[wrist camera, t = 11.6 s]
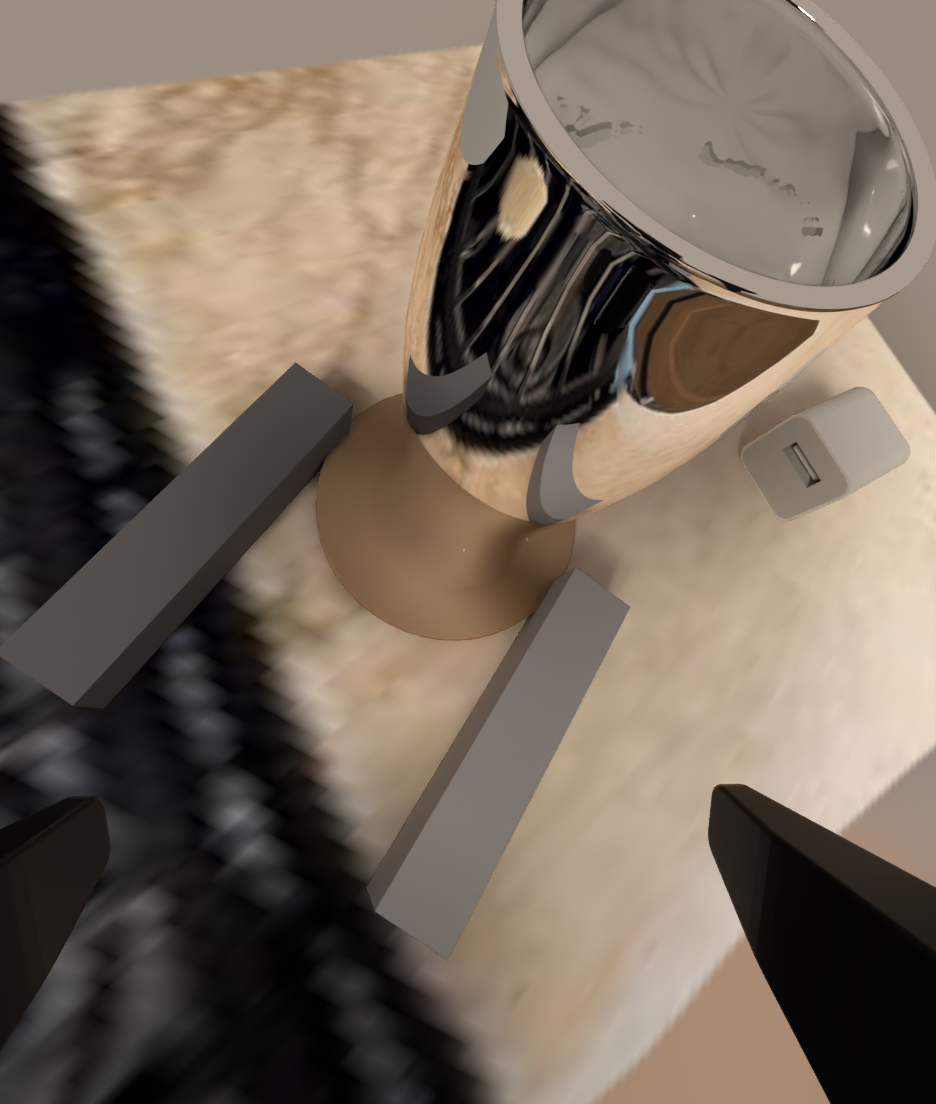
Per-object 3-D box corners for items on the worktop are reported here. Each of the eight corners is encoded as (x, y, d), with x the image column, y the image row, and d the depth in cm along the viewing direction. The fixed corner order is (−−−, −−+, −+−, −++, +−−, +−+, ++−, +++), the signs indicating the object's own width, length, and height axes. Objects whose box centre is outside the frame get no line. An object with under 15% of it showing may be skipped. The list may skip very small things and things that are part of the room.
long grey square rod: (104, 708, 17) (72, 705, 14) (36, 662, 16) (-6, 652, 14) (348, 437, 21) (353, 404, 19) (296, 400, 21) (295, 362, 19)
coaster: (488, 695, 20) (493, 695, 19) (256, 531, 19) (254, 525, 19) (607, 495, 24) (614, 489, 23) (417, 354, 23) (419, 345, 23)
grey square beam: (429, 930, 17) (447, 960, 15) (366, 887, 17) (375, 910, 15) (597, 619, 22) (630, 607, 20) (548, 583, 22) (576, 567, 19)
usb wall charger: (734, 452, 26) (803, 407, 23) (823, 411, 29) (898, 365, 25) (779, 525, 26) (857, 491, 22) (866, 476, 28) (949, 439, 25)
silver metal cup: (325, 474, 20) (362, -95, 6) (479, 403, 23) (744, -107, 9) (427, 638, 19) (732, 410, 5) (574, 546, 22) (1030, 233, 8)
